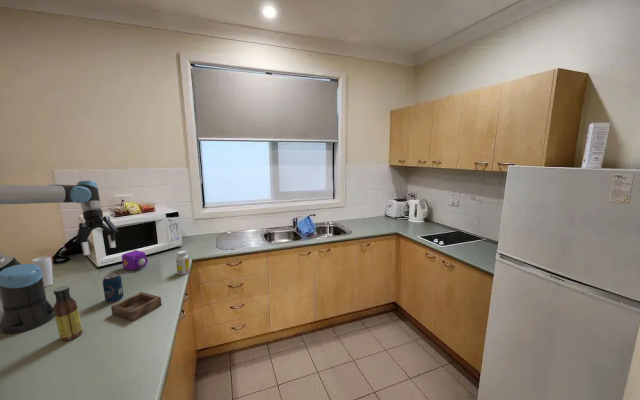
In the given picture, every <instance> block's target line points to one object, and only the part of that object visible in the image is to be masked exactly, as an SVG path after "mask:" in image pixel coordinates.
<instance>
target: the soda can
mask: <svg viewBox="0 0 640 400" xmlns="http://www.w3.org/2000/svg"><path fill="white" fill-rule="evenodd" d="M102 286H103V287H102V288H103V294H104V300H105V301H106V302H107V303H109V304H110V303H111V304H112V303H117V302H120V300H121V299H123V297H124V289H123V280H122V277H121V275H120V273H118V272H116V273H115V272H114V273H110V274H107V275H105V276H104V277H103V280H102Z"/></svg>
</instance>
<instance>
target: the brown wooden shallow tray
mask: <svg viewBox="0 0 640 400" xmlns="http://www.w3.org/2000/svg"><path fill="white" fill-rule="evenodd" d="M161 306H162V298H161V296H158V295H154V294H150V293H147V292H143V291H140V292H138V293H136V294H134V295H132V296H130V297H127V298H125V299H124V300H121V301H118V302H116V304H113V305H111V306H110V308H111V315H112V316H115V317H117V318H121V319H124V320H127V321H130V322H135V321H136V320H138V319H139V318H141V316H142V317H144V316H145V315H147V314H148V313H150V312H152V311H154V310H155V309H157V308H159V307H161Z"/></svg>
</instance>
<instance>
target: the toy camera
mask: <svg viewBox="0 0 640 400" xmlns="http://www.w3.org/2000/svg"><path fill="white" fill-rule="evenodd" d="M121 259H122V261H121V263H122V267H123V268H124V269H125V270H129V271H135V270H138V269H140V267H141V268H143V267H145V266H146V265H147V263H148V257H147V256H146V253H145V251H141V250H138V249H133V251H129V252H126V253H123V254H121ZM137 268H138V269H137ZM134 269H135V270H134Z"/></svg>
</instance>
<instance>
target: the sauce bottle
mask: <svg viewBox="0 0 640 400" xmlns="http://www.w3.org/2000/svg"><path fill="white" fill-rule="evenodd" d="M53 294H54V296H55V304H54V305H53V309H54V313H55V316H54V318H55V322H56V327H57V331H58V335H59V338H60V339H61V341H63V342H64V341H65V342H67V341H70V340H71V341H72V340H74V339H76V338H78V337H80V335H82V333H83V326H82V321H81V316H80V311H79V308H78V305H77V301H76V300H75V299H74V298H72V297H71V293H70V287H69V286H68V285H65V286H59V287H57V288H55V289H54V290H53Z"/></svg>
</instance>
